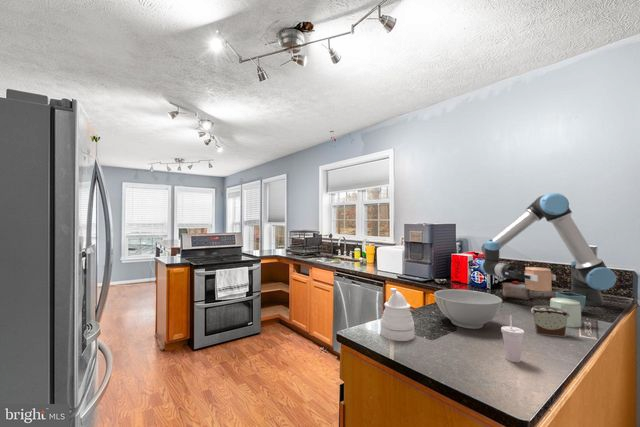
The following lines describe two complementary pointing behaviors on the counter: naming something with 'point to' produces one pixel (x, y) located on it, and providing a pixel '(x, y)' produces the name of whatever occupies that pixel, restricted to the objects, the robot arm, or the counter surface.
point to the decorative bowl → (468, 307)
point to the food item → (515, 290)
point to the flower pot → (572, 297)
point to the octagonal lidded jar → (539, 279)
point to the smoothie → (512, 342)
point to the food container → (550, 320)
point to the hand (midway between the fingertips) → (546, 278)
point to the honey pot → (397, 318)
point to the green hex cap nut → (569, 310)
